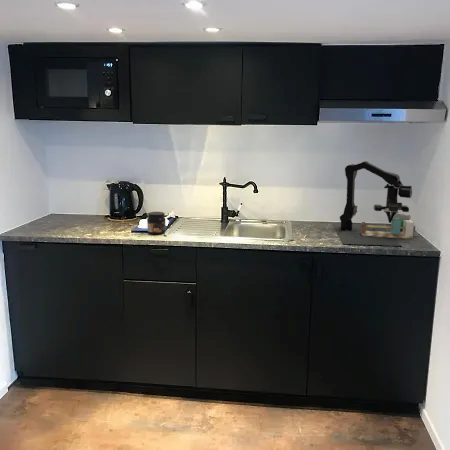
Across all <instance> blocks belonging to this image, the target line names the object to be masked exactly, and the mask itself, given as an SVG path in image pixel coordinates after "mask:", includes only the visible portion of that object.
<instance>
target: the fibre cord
mask: <svg viewBox="0 0 450 450" xmlns="http://www.w3.org/2000/svg"><path fill="white" fill-rule="evenodd" d="M392 227H393V226H391V225H390V226H389V225H372V224H370V225H369V224H366V228H376V229H391V228H392ZM400 229H405V227H401V226H400Z"/></svg>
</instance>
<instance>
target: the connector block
mask: <svg viewBox="0 0 450 450" xmlns="http://www.w3.org/2000/svg"><path fill="white" fill-rule="evenodd" d="M403 227H405V229H403V231H402V232H403V234H404V235H405V236H413V237H414V235H413V234H414V232H416V225H414V221H413V220H411V219H410V220H404V223H403Z"/></svg>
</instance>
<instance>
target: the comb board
mask: <svg viewBox="0 0 450 450" xmlns="http://www.w3.org/2000/svg"><path fill="white" fill-rule="evenodd" d="M366 225H367V223H366V221H361V226H360V227H361V229H360V231H359V232H360V235H361V236H362V237H365V236H373V237H372V238H386V239H387V238H388V239H389V238H391V239H414V235H413V236H405V235H404V234H403V231H400V235H396V234H392V233H391V232H390V231H378V230H374V231H372V230H367V227H366Z"/></svg>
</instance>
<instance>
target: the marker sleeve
mask: <svg viewBox="0 0 450 450" xmlns="http://www.w3.org/2000/svg"><path fill="white" fill-rule="evenodd" d="M390 226H393V227H392V228H390V231H389V232H391V233H392V234H396V235H400V232H401V231H400V226H401V220H400V219H399V218H393V219H392V221H391V223H390Z"/></svg>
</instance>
